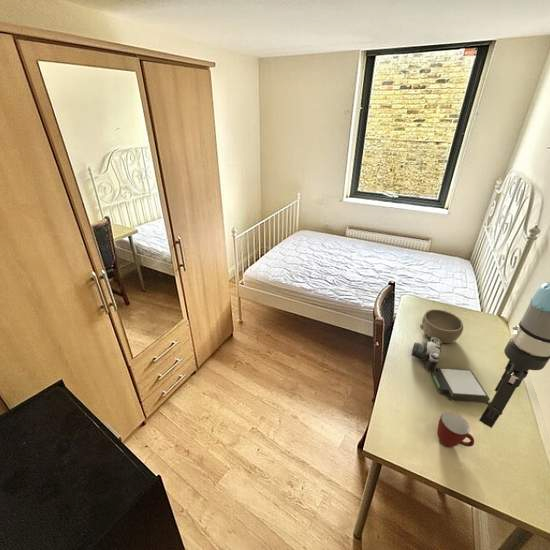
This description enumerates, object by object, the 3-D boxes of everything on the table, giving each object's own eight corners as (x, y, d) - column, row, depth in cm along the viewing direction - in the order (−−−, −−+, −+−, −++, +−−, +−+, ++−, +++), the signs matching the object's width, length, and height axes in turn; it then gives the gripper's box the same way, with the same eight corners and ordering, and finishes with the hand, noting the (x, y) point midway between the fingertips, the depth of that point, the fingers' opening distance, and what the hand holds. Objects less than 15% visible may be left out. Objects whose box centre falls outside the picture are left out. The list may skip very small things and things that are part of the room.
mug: (466, 439, 97) (477, 420, 93) (469, 461, 91) (480, 443, 86) (432, 425, 101) (441, 407, 96) (432, 446, 95) (441, 427, 90)
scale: (487, 403, 110) (490, 397, 109) (442, 399, 111) (445, 394, 109) (468, 374, 122) (471, 368, 121) (428, 371, 123) (430, 366, 122)
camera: (412, 344, 137) (417, 327, 133) (436, 351, 133) (443, 334, 129) (409, 366, 125) (415, 349, 120) (435, 375, 121) (442, 357, 116)
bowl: (413, 336, 142) (419, 320, 137) (424, 319, 154) (430, 304, 149) (452, 353, 132) (460, 336, 128) (461, 334, 144) (468, 318, 140)
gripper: (522, 316, 76) (490, 373, 86) (495, 364, 61) (461, 427, 71) (560, 330, 71) (521, 389, 81) (540, 386, 56) (496, 450, 66)
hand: (493, 407), depth 76 cm, fingers open, 13 cm apart
